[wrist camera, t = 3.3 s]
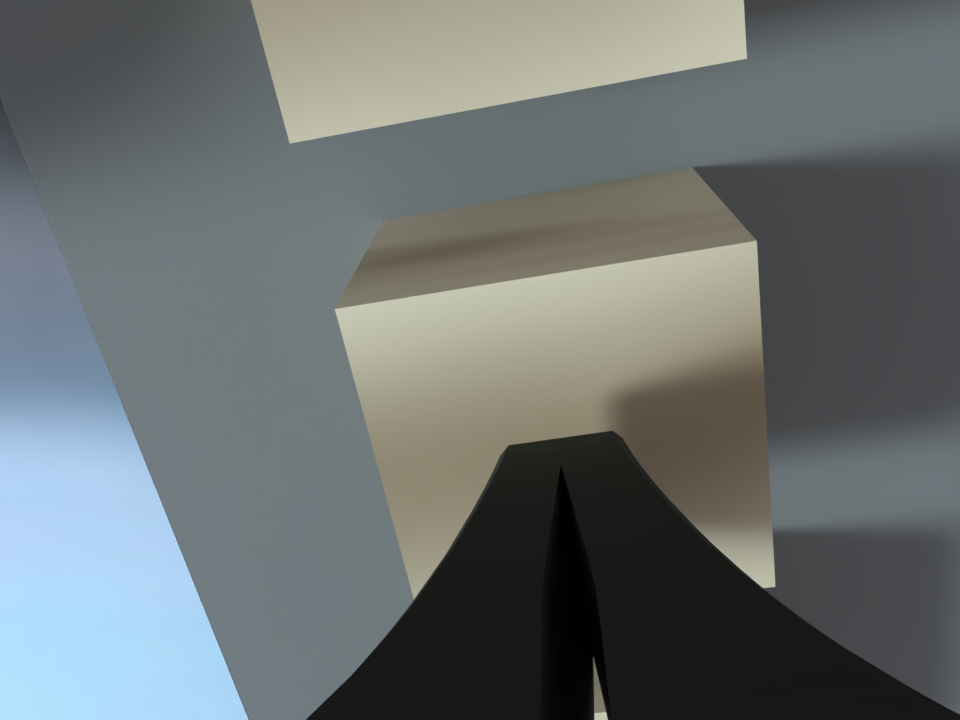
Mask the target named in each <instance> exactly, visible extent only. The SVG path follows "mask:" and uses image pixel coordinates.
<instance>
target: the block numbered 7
mask: <svg viewBox="0 0 960 720" xmlns="http://www.w3.org/2000/svg"><path fill="white" fill-rule="evenodd" d="M251 3H252V7H253V11H254V14H255V18H256V22H257V25H258V29H259V33H260V36H261V40H262V44H263V47H264V51H265V55H266V58H267V62H268V66H269V69H270V73H271V77H272V80H273V84H274V88H275V91H276V95H277V99H278V102H279V106H280V110H281V113H282V117H283V121H284V124H285V128H286V132H287V135H288V139H289V143H295V142H301V141H306V140H312V139H317V138H322V137H328V136H333V135H339V134H344V133H349V132H355V131H360V130H365V129H371V128H376V127H382V126H387V125H392V124H398V123H403V122H409V121H414V120H419V119H425V118H430V117H435V116H441V115H446V114H452V113H457V112H462V111H468V110H473V109H479V108H484V107H489V106H495V105H500V104H505V103H511V102H516V101H522V100H527V99H532V98H538V97H543V96H549V95H554V94H559V93H565V92H570V91H575V90H581V89H586V88H592V87H597V86H602V85H608V84H613V83H619V82H624V81H629V80H635V79H640V78H646V77H651V76H656V75H662V74H667V73H672V72H678V71H683V70H689V69H694V68H699V67H705V66H710V65H716V64H721V63H726V62H732V61H737V60H742V59H747V50H746V32H745V13H744V0H251Z"/></svg>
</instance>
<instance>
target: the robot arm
mask: <svg viewBox="0 0 960 720" xmlns="http://www.w3.org/2000/svg"><path fill="white" fill-rule="evenodd" d="M593 657H594V661H595V666H596V670H597V674H598V679H599V683H600V688H601V692H602V696H603V701H604V705H605V709H606V714H607V718H608V720H960V714H958V713H956V712H954V711H952V710H950V709H948V708H946V707H944V706H943V705H941V704H939V703H937V702H935V701H934V700H932V699H930V698H928V697H926V696H925V695H923V694H921V693H919V692H917V691H916V690H914V689H912V688H911V687H909V686H907V685H906V684H904V683H902V682H901V681H899V680H897V679H896V678H894V677H892V676H891V675H889V674H887V673H886V672H884V671H882V670H881V669H879V668H877V667H876V666H874V665H873V664H871V663H869V662H868V661H866V660H864V659H863V658H861V657H859V656H858V655H856V654H854V653H853V652H851V651H849V650H848V649H846V648H844V647H843V646H841V645H840V644H838V643H837V642H836V641H834V640H833V639H831V638H830V637H828V636H827V635H825V634H824V633H822V632H821V631H820V630H818V629H817V628H815V627H814V626H812V625H811V624H809V623H808V622H807V621H805V620H804V619H803V618H801V617H800V616H799V615H797V614H796V613H795V612H793V611H792V610H791V609H789V608H788V607H787V606H785V605H784V604H783V603H781V602H780V601H779V600H777V599H776V598H775V597H773V596H772V595H771V594H770V593H769V592H767V591H766V590H765V589H764V588H762V587H761V586H760V585H759V584H757V583H756V582H755V581H754V580H753V579H751V578H750V577H749V576H748V575H747V574H746V573H744V572H743V571H742V570H741V569H740V568H739V567H738V566H736V565H735V564H734V563H733V562H732V561H731V560H730V559H729V558H728V557H726V556H725V555H724V554H723V553H722V552H721V551H720V550H719V549H718V548H717V547H715V546H714V545H713V544H712V543H711V542H710V541H709V540H708V539H707V538H706V537H705V536H704V535H703V534H702V533H701V532H700V531H699V530H698V529H697V528H696V527H695V526H694V525H693V524H692V523H691V522H690V521H689V520H688V519H687V518H686V517H685V516H684V515H683V513H682V512H681V511H680V510H679V509H678V508H677V507H676V506H675V505H674V504H673V503H672V502H671V501H670V500H669V499H668V498H667V496H666V495H665V494H664V493H663V492H662V491H661V490H660V488H659V487H658V486H657V485H656V484H655V482H654V481H653V480H652V479H651V478H650V476H649V475H648V474H647V473H646V471H645V470H644V469H643V468H642V466H641V465H640V464H639V462H638V461H637V460H636V458H635V457H634V455H633V454H632V452H631V451H630V449H629V448H628V446H627V444H626V443H625V441H624V439H623V438H622V437H621V436H619V435H618V434H617V433H615V432H614V431H606V432H599V433H592V434H585V435H578V436H571V437H564V438H557V439H550V440H542V441H535V442H528V443H521V444H514V445H508V447H507V448H506V449H505V450H504V451H503V453H502V454H501V455H500V457H499V460H498V462H497V464H496V466H495V468H494V470H493V472H492V474H491V476H490V478H489V480H488V482H487V484H486V486H485V488H484V490H483V492H482V494H481V496H480V497H479V499H478V501H477V503H476V505H475V507H474V508H473V510H472V512H471V513H470V515H469V517H468V518H467V520H466V522H465V523H464V525H463V527H462V528H461V530H460V532H459V533H458V535H457V537H456V538H455V540H454V542H453V543H452V545H451V547H450V548H449V550H448V551H447V553H446V554H445V556H444V557H443V559H442V560H441V562H440V563H439V565H438V566H437V568H436V569H435V570H434V572H433V573H432V575H431V576H430V577H429V579H428V580H427V582H426V583H425V585H424V586H423V587H422V589H421V590H420V592H419V593H418V595H417V596H416V597H415V599H414V600H413V602H412V603H411V604H410V606H409V607H408V608H407V610H406V611H405V612H404V613H403V615H402V616H401V617H400V619H399V620H398V621H397V622H396V624H395V625H394V626H393V627H392V629H391V630H390V631H389V632H388V634H387V635H386V636H385V637H384V638H383V640H382V641H381V642H380V643H379V644H378V645H377V647H376V648H375V649H374V650H373V651H372V652H371V654H370V655H369V656H368V657H367V658H366V659H365V660H364V662H363V663H362V664H361V665H360V666H359V667H358V668H357V670H356V671H355V672H354V673H353V674H352V675H351V676H350V677H349V678H348V679H347V680H346V681H345V682H344V683H343V684H342V685H341V686H340V687H339V688H338V689H337V690H336V691H335V692H334V693H333V694H332V695H331V696H330V697H328V698H327V699H326V700H325V701H324V702H323V703H322V704H321V705H320V706H319V707H318V708H317V709H316V710H315V711H314V712H313V713H312V714H311V715H310V716H309V717H308V718H307V719H306V720H594V665H593Z"/></svg>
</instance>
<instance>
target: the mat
mask: <svg viewBox="0 0 960 720" xmlns="http://www.w3.org/2000/svg"><path fill="white" fill-rule="evenodd" d="M744 13H745V32H746V50H747V59H742V60H737V61H732V62H726V63H721V64H716V65H710V66H705V67H699V68H694V69H689V70H683V71H678V72H672V73H667V74H662V75H656V76H651V77H646V78H640V79H635V80H629V81H624V82H619V83H613V84H608V85H602V86H597V87H592V88H586V89H581V90H575V91H570V92H565V93H559V94H554V95H549V96H543V97H538V98H532V99H527V100H522V101H516V102H511V103H505V104H500V105H495V106H489V107H484V108H479V109H473V110H468V111H462V112H457V113H452V114H446V115H441V116H435V117H430V118H425V119H419V120H414V121H409V122H403V123H398V124H392V125H387V126H382V127H376V128H371V129H365V130H360V131H355V132H349V133H344V134H339V135H333V136H328V137H322V138H317V139H312V140H306V141H301V142H295V143H289V139H288V135H287V132H286V128H285V124H284V121H283V117H282V113H281V110H280V106H279V102H278V99H277V95H276V91H275V88H274V84H273V80H272V77H271V73H270V69H269V66H268V62H267V58H266V55H265V51H264V47H263V44H262V40H261V36H260V33H259V29H258V25H257V22H256V18H255V14H254V11H253V7H252V3H251V0H0V101H1V104H2V106H3V108H4V111H5V113H6V116H7V118H8V121H9V123H10V126H11V128H12V131H13V133H14V136H15V138H16V141H17V143H18V146H19V148H20V151H21V153H22V156H23V158H24V161H25V163H26V166H27V168H28V171H29V173H30V176H31V178H32V181H33V183H34V186H35V188H36V191H37V193H38V196H39V198H40V201H41V203H42V206H43V208H44V211H45V213H46V216H47V218H48V221H49V223H50V226H51V228H52V231H53V233H54V236H55V238H56V241H57V243H58V246H59V248H60V251H61V253H62V256H63V258H64V261H65V263H66V266H67V268H68V271H69V273H70V276H71V278H72V281H73V283H74V285H75V288H76V290H77V293H78V295H79V298H80V300H81V303H82V305H83V308H84V310H85V313H86V315H87V318H88V320H89V323H90V325H91V328H92V330H93V333H94V335H95V338H96V340H97V343H98V345H99V348H100V350H101V353H102V355H103V358H104V360H105V363H106V365H107V368H108V370H109V373H110V375H111V378H112V380H113V383H114V385H115V388H116V390H117V393H118V395H119V398H120V400H121V403H122V405H123V408H124V410H125V413H126V415H127V418H128V420H129V423H130V425H131V428H132V430H133V433H134V435H135V438H136V440H137V443H138V445H139V448H140V450H141V453H142V455H143V458H144V460H145V462H146V465H147V467H148V470H149V472H150V475H151V477H152V480H153V482H154V485H155V487H156V490H157V492H158V495H159V497H160V500H161V502H162V505H163V507H164V510H165V512H166V515H167V517H168V520H169V522H170V525H171V527H172V530H173V532H174V535H175V537H176V540H177V542H178V545H179V547H180V550H181V552H182V555H183V557H184V560H185V562H186V565H187V567H188V570H189V572H190V575H191V577H192V580H193V582H194V585H195V587H196V590H197V592H198V595H199V597H200V600H201V602H202V605H203V607H204V610H205V612H206V615H207V617H208V620H209V622H210V625H211V627H212V630H213V632H214V635H215V637H216V639H217V642H218V644H219V647H220V649H221V652H222V654H223V657H224V659H225V662H226V664H227V667H228V669H229V672H230V674H231V677H232V679H233V682H234V684H235V687H236V689H237V692H238V694H239V697H240V699H241V702H242V704H243V707H244V709H245V712H246V714H247V717H248V719H249V720H306V719H307V718H308V717H309V716H310V715H311V714H312V713H313V712H314V711H315V710H316V709H317V708H318V707H319V706H320V705H321V704H322V703H323V702H324V701H325V700H326V699H327V698H328V697H330V696H331V695H332V694H333V693H334V692H335V691H336V690H337V689H338V688H339V687H340V686H341V685H342V684H343V683H344V682H345V681H346V680H347V679H348V678H349V677H350V676H351V675H352V674H353V673H354V672H355V671H356V670H357V668H358V667H359V666H360V665H361V664H362V663H363V662H364V660H365V659H366V658H367V657H368V656H369V655H370V654H371V652H372V651H373V650H374V649H375V648H376V647H377V645H378V644H379V643H380V642H381V641H382V640H383V638H384V637H385V636H386V635H387V634H388V632H389V631H390V630H391V629H392V627H393V626H394V625H395V624H396V622H397V621H398V620H399V619H400V617H401V616H402V615H403V613H404V612H405V611H406V610H407V608H408V607H409V606H410V604H411V603H412V602H413V600H414V598H413V594H412V591H411V587H410V583H409V580H408V576H407V572H406V569H405V565H404V561H403V558H402V554H401V550H400V547H399V543H398V539H397V536H396V532H395V528H394V525H393V521H392V517H391V514H390V510H389V506H388V503H387V499H386V495H385V491H384V488H383V484H382V480H381V477H380V473H379V469H378V466H377V462H376V458H375V455H374V451H373V447H372V444H371V440H370V436H369V433H368V429H367V425H366V422H365V418H364V414H363V411H362V407H361V403H360V400H359V396H358V392H357V389H356V385H355V381H354V378H353V374H352V370H351V367H350V363H349V359H348V356H347V352H346V348H345V345H344V341H343V337H342V334H341V330H340V326H339V323H338V319H337V315H336V312H335V308H336V306H337V304H338V302H339V300H340V299H341V297H342V295H343V293H344V291H345V289H346V287H347V286H348V284H349V282H350V280H351V278H352V276H353V275H354V273H355V271H356V269H357V267H358V265H359V263H360V262H361V260H362V258H363V256H364V254H365V252H366V250H367V249H368V247H369V245H370V243H371V241H372V239H373V237H374V236H375V234H376V232H377V230H378V228H379V226H380V225H381V223H382V221H383V220H389V219H394V218H400V217H406V216H412V215H418V214H423V213H429V212H435V211H441V210H447V209H452V208H458V207H464V206H470V205H475V204H481V203H487V202H493V201H499V200H504V199H510V198H516V197H522V196H528V195H533V194H539V193H545V192H551V191H556V190H562V189H568V188H574V187H580V186H585V185H591V184H597V183H603V182H609V181H614V180H620V179H626V178H632V177H637V176H643V175H649V174H655V173H661V172H666V171H672V170H678V169H684V168H689V167H692V168H693V169H694V170H695V171H696V172H697V174H698V175H699V176H700V177H701V178H702V179H703V180H704V181H705V183H706V184H707V185H708V186H709V187H710V188H711V189H712V191H713V192H714V193H715V194H716V195H717V196H718V197H719V198H720V200H721V201H722V202H723V203H724V204H725V205H726V206H727V208H728V209H729V210H730V211H731V212H732V213H733V214H734V216H735V217H736V218H737V219H738V220H739V221H740V222H741V223H742V225H743V226H744V227H745V228H746V229H747V230H748V231H749V233H750V234H751V235H752V236H753V237H754V238H755V239H756V240H757V254H758V273H759V291H760V310H761V328H762V347H763V365H764V384H765V402H766V421H767V439H768V458H769V477H770V495H771V514H772V532H773V551H774V569H775V587H769V588H764V589H765V590H766V591H767V592H769V593H770V594H771V595H772V596H773V597H775V598H776V599H777V600H779V601H780V602H781V603H783V604H784V605H785V606H787V607H788V608H789V609H791V610H792V611H793V612H795V613H796V614H797V615H799V616H800V617H801V618H803V619H804V620H805V621H807V622H808V623H809V624H811V625H812V626H814V627H815V628H817V629H818V630H820V631H821V632H822V633H824V634H825V635H827V636H828V637H830V638H831V639H833V640H834V641H836V642H837V643H838V644H840V645H841V646H843V647H844V648H846V649H848V650H849V651H851V652H853V653H854V654H856V655H858V656H859V657H861V658H863V659H864V660H866V661H868V662H869V663H871V664H873V665H874V666H876V667H877V668H879V669H881V670H882V671H884V672H886V673H887V674H889V675H891V676H892V677H894V678H896V679H897V680H899V681H901V682H902V683H904V684H906V685H907V686H909V687H911V688H912V689H914V690H916V691H917V692H919V693H921V694H923V695H925V696H926V697H928V698H930V699H932V700H934V701H935V702H937V703H939V704H941V705H943V706H944V707H946V708H948V709H950V710H952V711H954V712H956V713H958V714H960V0H744Z"/></svg>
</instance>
